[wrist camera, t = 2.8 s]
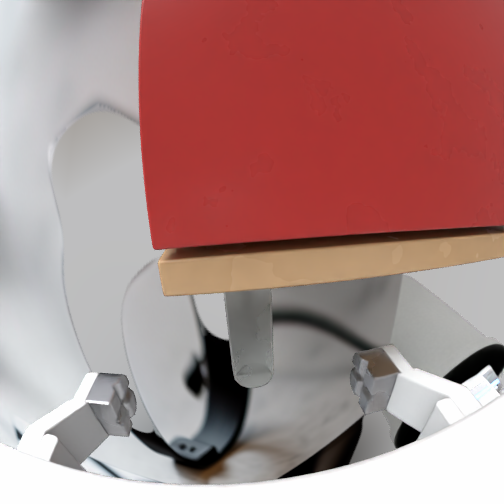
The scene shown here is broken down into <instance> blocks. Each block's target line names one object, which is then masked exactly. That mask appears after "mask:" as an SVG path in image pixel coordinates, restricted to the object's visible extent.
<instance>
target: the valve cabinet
mask: <svg viewBox="0 0 504 504" xmlns="http://www.w3.org/2000/svg"><path fill="white" fill-rule="evenodd" d="M139 117H140V136H141V151H142V163H143V174H144V184H145V192H146V193H145V194H146V202H147V210H148V218H149V225H150V232H151V239H152V245H153V248H154V249H155V250H162V249H173V248H185V247H198V246H210V245H222V244H235V243H248V242H260V241H274V240H287V239H301V238H314V237H328V236H343V235H357V234H372V233H387V232H403V231H419V230H436V229H453V228H470V227H489V226H504V0H142V6H141V19H140V37H139Z"/></svg>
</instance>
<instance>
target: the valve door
mask: <svg viewBox="0 0 504 504" xmlns="http://www.w3.org/2000/svg"><path fill="white" fill-rule="evenodd" d="M501 257H504V226H489V227H470V228H453V229H436V230H419V231H403V232H387V233H372V234H357V235H343V236H328V237H314V238H301V239H287V240H274V241H260V242H248V243H235V244H222V245H210V246H198V247H185V248H173V249H166V250H165V252H164V253H163V254H162V256H161V257H160V259H159V261H158V267H159V273H160V279H161V284H162V289H163V294H164V296H181V295H196V294H211V293H224V300H225V309H226V317H227V326H228V334H229V342H230V350H231V358H232V366H233V373H234V378H235V380H236V381H237V382H238V383H239V384H240V385H242V386H244V387H247V388H257V387H261V386H264V385H265V384H267V383H268V382H269V381H270V380H271V379H272V376H273V371H274V368H273V328H272V296H271V289H272V288H283V287H293V286H303V285H313V284H322V283H331V282H340V281H348V280H357V279H365V278H373V277H380V276H388V275H395V274H403V273H409V272H417V271H423V270H430V269H437V268H443V267H449V266H455V265H462V264H467V263H473V262H479V261H485V260H490V259H496V258H501Z"/></svg>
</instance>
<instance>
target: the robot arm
mask: <svg viewBox="0 0 504 504" xmlns="http://www.w3.org/2000/svg"><path fill="white" fill-rule="evenodd" d="M352 362H353V364H354V366H355V367H354V368H353V369H352V370H351V373H350V385H351V388H352V391H353V393H354V394H355V395H357V396H359V397H360V399H359V404H360V406H361V408H362V410H363V412H364V414H365V415H367V414H371V413H374V412H378V411H382V410H385V409H386V411H388V412H389V413H391V414H392V415H394V416H395V417H397V418H399V419H400V420H402V421H403V422H405V423H406V424H408V425H410V426H411V427H413V428H415V429H416V430H418V431H419V432H421V434H420V435H419V437H418V439H417V441H415V442H413V443H410V444H408V445H406V446H403V447H401V448H398V449H395V450H393V451H390V452H387V453H384V454H382V455H379V456H376V457H373V458H370V459H367V460H363V461H360V462H357V463H353V464H350V465H346V466H342V467H338V468H334V469H330V470H326V471H322V472H317V473H312V474H307V475H302V476H297V477H291V478H284V479H277V480H270V481H261V482H251V483H238V484H217V485H188V484H167V483H154V482H144V481H136V480H129V479H122V478H116V477H110V476H105V475H100V474H95V473H90V472H87V471H86V470H85V469H84V468H83V467H82V466H81V465H80V464H81V463H82V462H83V461H84V460H85V459H86V458H87V457H88V456H89V455H90V454H91V453H92V452H93V451H94V450H95V449H96V448H97V447H98V446H99V445H100V444H101V443H102V442H103V441H104V440H105V439H106V438H107V437H108V435H113V436H124V437H129V434H130V431H131V427H132V422H131V420H130V418H131V417H133V416H134V415H135V412H136V398H135V395H134V392H133V391H132V390H131V389H130V388H128V385H129V381H128V379H127V377H126V376H125V375H123V374H108V373H94V372H89V373H87V374H86V375H85V377H84V379H83V381H82V383H81V385H80V387H79V389H78V391H77V393H76V395H75V397H74V398H73V400H69V401H67V402H65V403H64V404H62V405H61V406H59V407H58V408H56V409H55V410H53V411H52V412H50V413H49V414H47V415H45V416H44V417H42V418H41V419H39V420H38V421H36V422H35V423H33V424H31V425H30V426H28V427H27V429H26V431H25V433H24V435H23V436H22V438H21V440H20V442H19V444H18V446H17V448H16V449H14V448H12V447H9V446H7V445H5V444H3V443H0V504H504V388H503V389H502V390H501V388H502V383H501V382H500V380H499V378H498V377H497V375H496V374H495V372H494V371H493V369H492V368H491V366H490V365H488V366H486V367H485V368H484V369H483V370H481V371H480V372H479V373H478V374H477V375H475V376H474V377H472V378H470V379H468V380H467V381H465V382H464V383H462V384H461V385H460V384H458V383H455V382H452V381H449V380H447V379H444V378H441V377H439V376H436V375H434V374H431V373H428V372H426V371H423V370H421V369H418V368H415V369H413V368H412V367H411V365H410V364H409V363H408V362H407V360H406V359H405V358H404V357H403V356H402V354H401V353H400V352H399V351H398V349H397V348H396V347H395V346H394V345H392V344H389V345H386V346H382V347H379V348H375V349H371V350H367V351H362V352H358V353H355V354H354V356H353V361H352ZM500 390H501V392H499V391H500Z"/></svg>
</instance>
